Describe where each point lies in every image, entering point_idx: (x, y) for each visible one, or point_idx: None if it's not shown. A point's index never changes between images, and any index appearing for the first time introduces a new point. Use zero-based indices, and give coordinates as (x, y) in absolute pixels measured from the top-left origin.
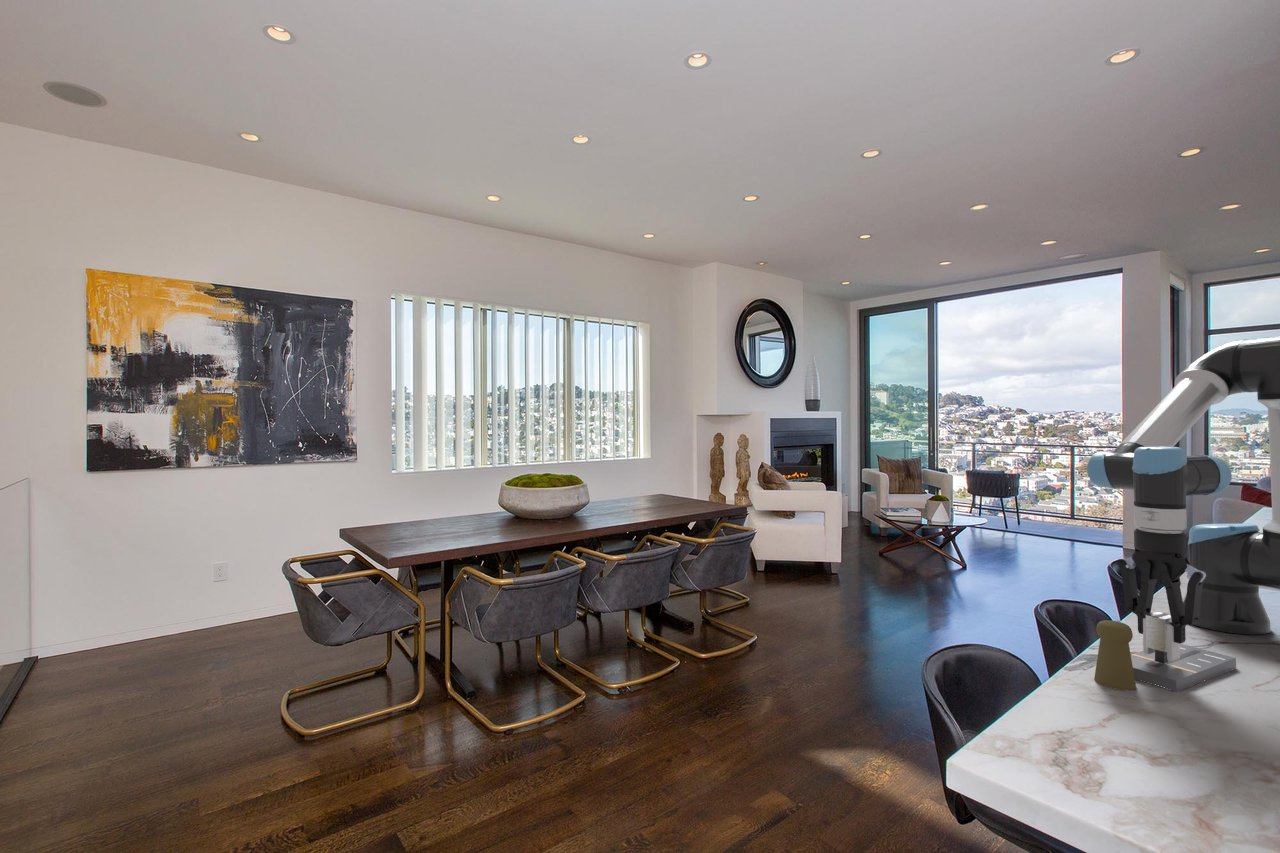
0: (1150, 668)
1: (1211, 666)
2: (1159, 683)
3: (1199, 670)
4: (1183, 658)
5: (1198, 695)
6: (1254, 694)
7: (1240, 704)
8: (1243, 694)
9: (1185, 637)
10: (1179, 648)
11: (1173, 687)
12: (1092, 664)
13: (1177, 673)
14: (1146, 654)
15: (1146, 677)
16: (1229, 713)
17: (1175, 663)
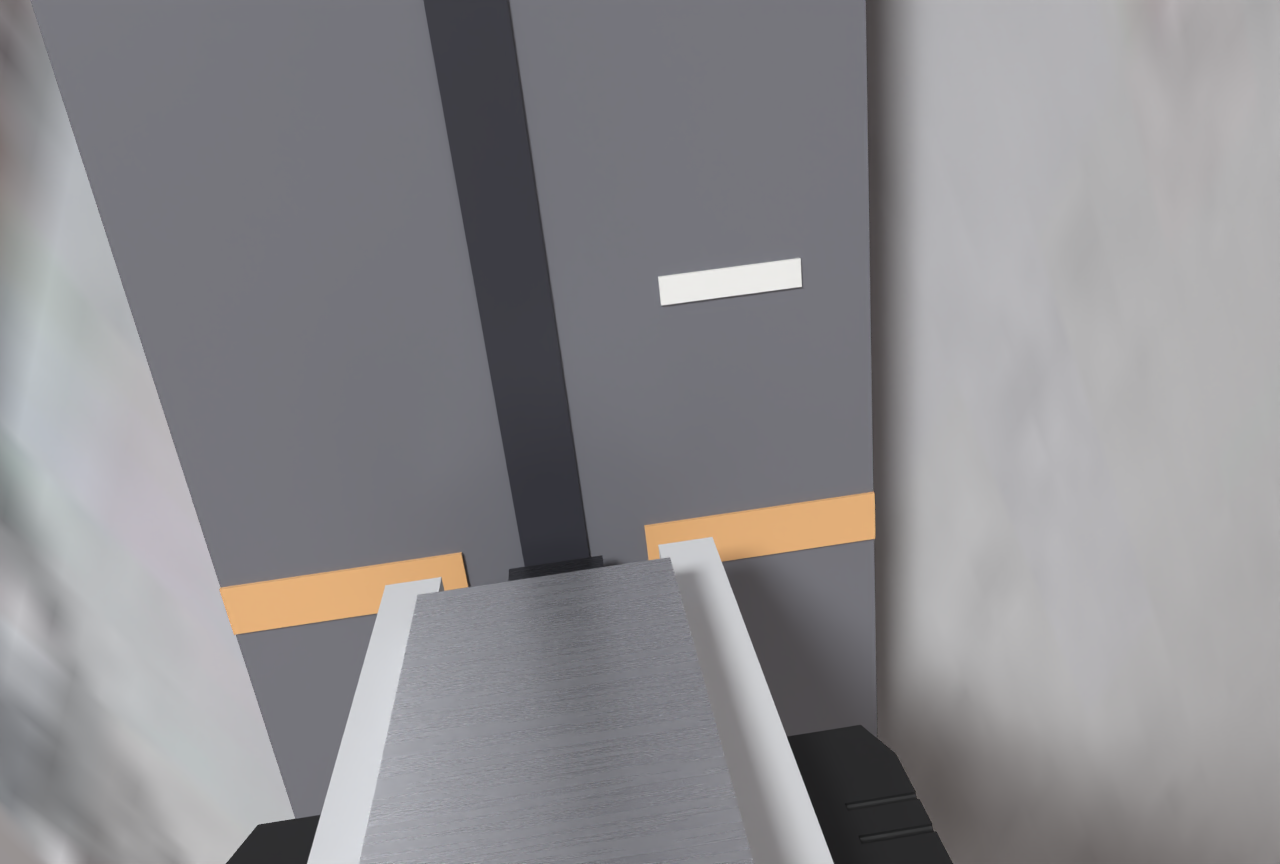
0: None
1: (857, 126)
2: None
3: (855, 414)
4: (533, 140)
5: (957, 683)
6: (1211, 216)
7: (1199, 568)
8: (1153, 317)
9: (914, 791)
10: (742, 618)
11: None
12: (156, 854)
13: (793, 693)
14: (273, 449)
15: None
16: (1197, 785)
17: (616, 439)
